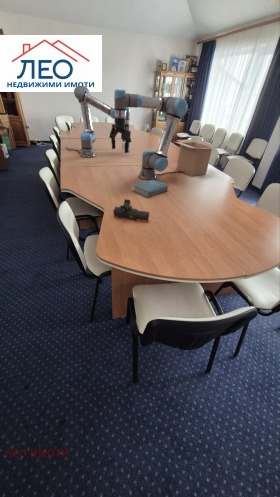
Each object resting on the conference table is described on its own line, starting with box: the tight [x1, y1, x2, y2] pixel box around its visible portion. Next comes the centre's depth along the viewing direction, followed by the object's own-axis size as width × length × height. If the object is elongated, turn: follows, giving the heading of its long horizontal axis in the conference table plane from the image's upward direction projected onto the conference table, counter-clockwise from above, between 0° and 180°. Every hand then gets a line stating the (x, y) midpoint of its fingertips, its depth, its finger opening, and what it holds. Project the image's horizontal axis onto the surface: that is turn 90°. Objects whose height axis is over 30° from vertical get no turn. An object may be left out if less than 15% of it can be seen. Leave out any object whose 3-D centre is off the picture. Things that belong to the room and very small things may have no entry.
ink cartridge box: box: [121, 141, 131, 154], centre depth 254 cm, size 9×5×15 cm, turn 138°
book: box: [133, 179, 169, 198], centre depth 177 cm, size 23×16×5 cm
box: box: [174, 139, 220, 177], centre depth 220 cm, size 44×36×27 cm
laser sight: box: [112, 199, 150, 222], centre depth 138 cm, size 10×22×10 cm, turn 78°
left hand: (125, 146), depth 255 cm, fingers closed on ink cartridge box, 5 cm apart
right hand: (119, 150), depth 163 cm, fingers open, 13 cm apart
